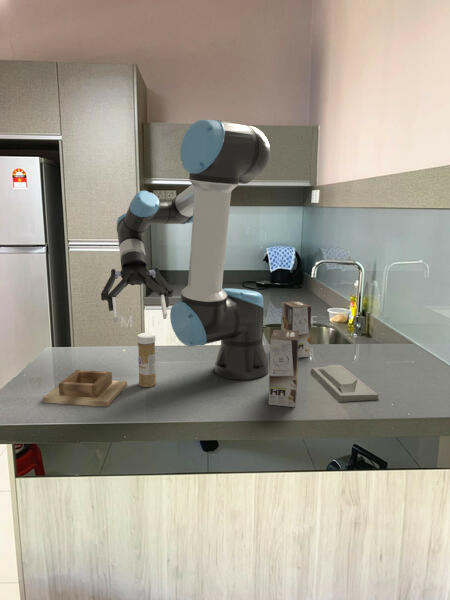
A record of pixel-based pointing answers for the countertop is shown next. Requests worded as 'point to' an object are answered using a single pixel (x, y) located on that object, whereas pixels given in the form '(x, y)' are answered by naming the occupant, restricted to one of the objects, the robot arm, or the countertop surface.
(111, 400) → the socket board
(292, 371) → the coffee box
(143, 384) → the sprinkles bottle
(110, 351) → the countertop surface
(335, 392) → the soap mold
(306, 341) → the coffee box
